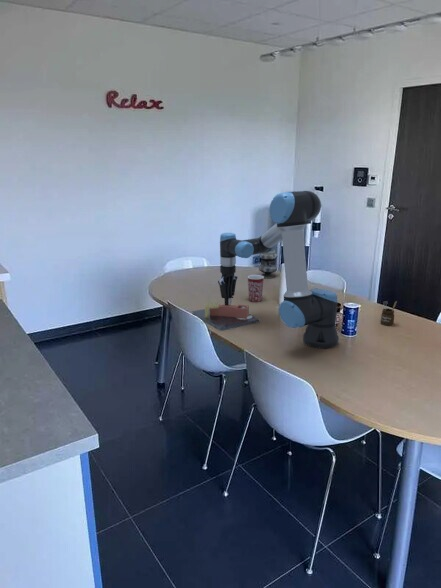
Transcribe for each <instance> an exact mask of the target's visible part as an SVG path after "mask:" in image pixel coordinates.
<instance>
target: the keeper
mask: <svg viewBox="0 0 441 588" xmlns="http://www.w3.org/2000/svg"><path fill="white" fill-rule="evenodd" d="M218 304H219V302H217V301H216V302H204V303H203V305H204V309H205V319H209V309H212V308H219V305H218Z"/></svg>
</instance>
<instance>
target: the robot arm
mask: <svg viewBox="0 0 441 588" xmlns="http://www.w3.org/2000/svg"><path fill="white" fill-rule="evenodd" d="M268 209H269V217H270V219H272V221H273V222H274V224H273V225H272V226H271V227H270V228H269V229H268V230H267V231H265V232H264V233H263V234H261V235H260V236H259V237H255V238H249V239H237V236H236V233H233V232H223V233H221V234H220V235H219V236H220V237H219V238H220V239H219V249H220V250H219V255H220V259H219V261H220V262H219V264H220V267H219V268H220V269H219V270H220V271H219V272H220V273H221V279H220V280H218V282H217V283H218V286H219V292H220V296H221V298H222V299H224V305H232V299H233V298H234V296H235V291H236V284H237V281H238V276H236V275H235V273H236V270H237V269H236V268H237V267H236V263H237V260H236V258H237V257H238V258H242V259H243V258H244V259H248V258H250V257H251V256H255V255H260V254H261V253H268V252H271V251H272V250H275V249H274V248H275V247H276V245H277V244H279V242H282V243H281V244H282V251H283V253H282V254H283V255H282V256H283V264H284V275H285V288H286V290H285V293H283V301H282V302H280V304H279V306H278V315H279V317H280V319H281V321H282V323H284V325H285V326H287V327H289V328H290V329H298V328H302V327H303V328H304V327H305V326H306V328H305V330H304V333H303V335H302V342H303V343H304V344H305V345H306V346H309V347H312V348H315V349H331V348H336V347H337V346H338V345H339V338H340V337H339V336H338V331H337V328H336V327H337V325H336V322H337V313H338V312H337V310H338V294H337V293H336V292H334V291H332V290H330V289H329V290H328V289H325V288H324V289H323V288H311V289H309V285H308V272H307V261H306V250H305V249H306V248H305V238H304V237H305V236H304V229H305V228H306V226H307V225H308V224H309V223H310V222H312V221H313V220H314V219H316V218H317V217H318V216H319V214H320V212H321V209H322V202H321V199H320V197H319V196H318V195H317V194H316V193H315V192H312V191H310V190H300V191H285V192H284V191H283V192H280V193H277V194H275V195H274V197H273V198H272V200H271V202H270V205H269V208H268Z"/></svg>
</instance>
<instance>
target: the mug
mask: <svg viewBox="0 0 441 588" xmlns="http://www.w3.org/2000/svg"><path fill="white" fill-rule="evenodd" d="M261 275H262V274H250V275H248V276H247V286H248V300H249V301H250V302H253V303H259V302H262V300H263V292H264V291H263V289H264V279H265V278H264V276H261Z"/></svg>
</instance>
